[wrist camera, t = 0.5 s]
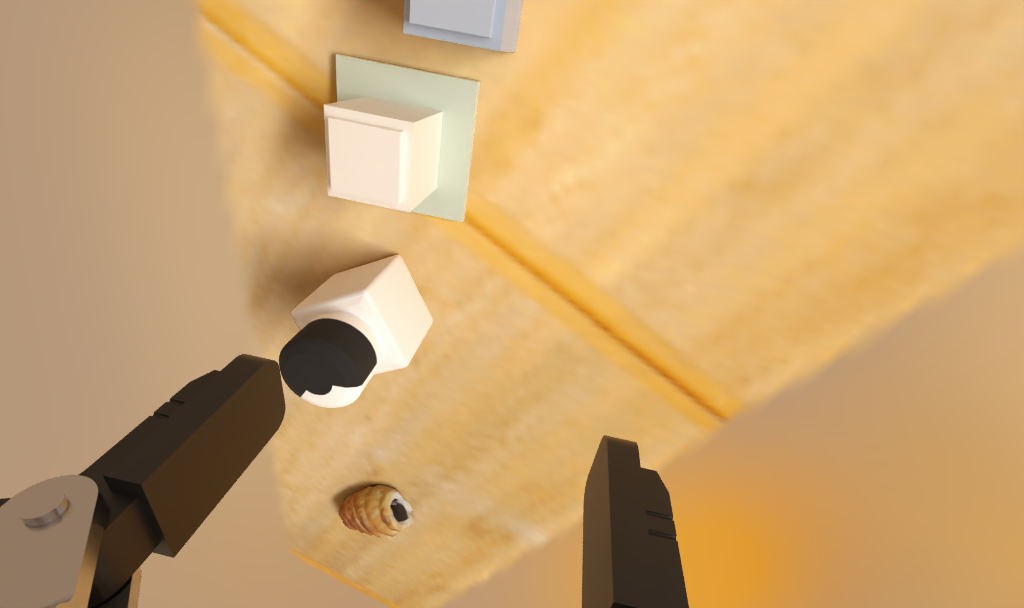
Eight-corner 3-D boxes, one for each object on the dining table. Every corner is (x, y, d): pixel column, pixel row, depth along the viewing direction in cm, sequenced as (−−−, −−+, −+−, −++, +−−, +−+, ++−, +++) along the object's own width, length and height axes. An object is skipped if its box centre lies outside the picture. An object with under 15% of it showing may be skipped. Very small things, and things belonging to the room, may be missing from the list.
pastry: (361, 523, 59) (348, 551, 56) (333, 489, 56) (316, 516, 53) (420, 513, 56) (410, 542, 53) (393, 477, 53) (380, 504, 50)
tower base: (341, 54, 31) (277, 54, 25) (480, 81, 31) (451, 88, 24) (345, 193, 36) (292, 223, 30) (464, 218, 36) (437, 254, 29)
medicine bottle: (333, 273, 40) (243, 349, 30) (400, 252, 38) (330, 326, 28) (370, 337, 43) (301, 427, 33) (435, 321, 41) (383, 411, 31)
